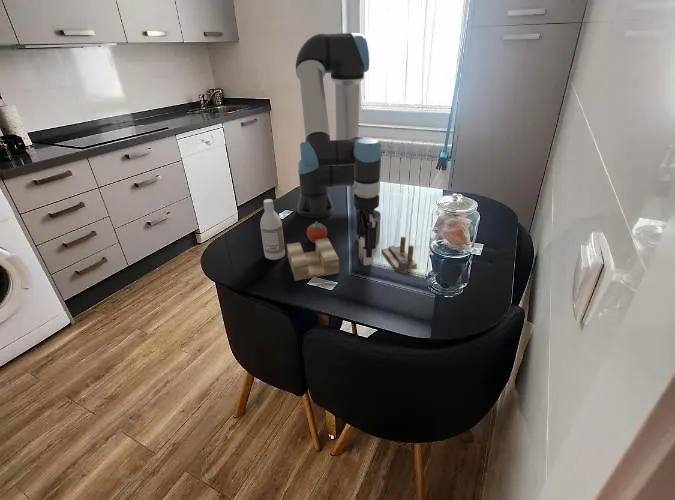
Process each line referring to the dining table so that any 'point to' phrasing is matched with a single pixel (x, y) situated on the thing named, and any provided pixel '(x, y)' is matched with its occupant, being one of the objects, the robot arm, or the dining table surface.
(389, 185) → the dining table surface
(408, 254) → the peg rack
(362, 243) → the pin
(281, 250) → the bath foam
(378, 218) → the cup
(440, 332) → the dining table surface
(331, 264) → the slot block
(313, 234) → the tomato
